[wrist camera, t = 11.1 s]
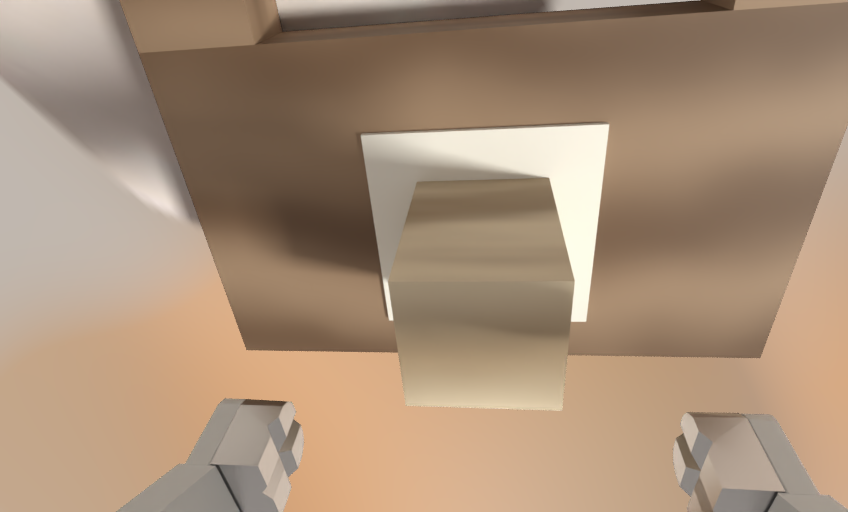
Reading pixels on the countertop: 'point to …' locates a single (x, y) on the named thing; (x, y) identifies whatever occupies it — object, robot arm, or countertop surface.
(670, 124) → the pocket board
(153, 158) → the countertop surface
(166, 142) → the countertop surface
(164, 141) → the countertop surface
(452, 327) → the ash block
